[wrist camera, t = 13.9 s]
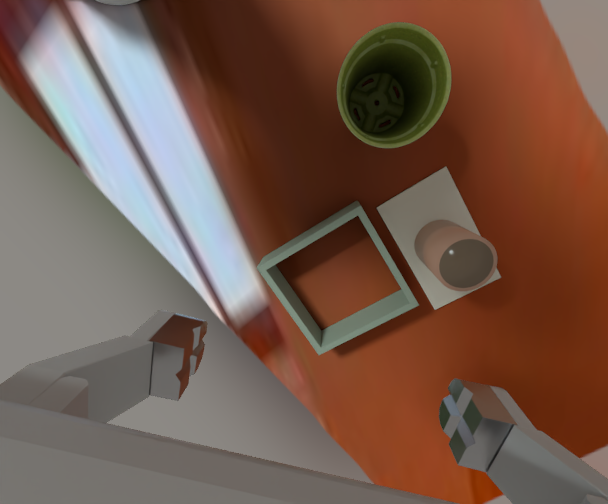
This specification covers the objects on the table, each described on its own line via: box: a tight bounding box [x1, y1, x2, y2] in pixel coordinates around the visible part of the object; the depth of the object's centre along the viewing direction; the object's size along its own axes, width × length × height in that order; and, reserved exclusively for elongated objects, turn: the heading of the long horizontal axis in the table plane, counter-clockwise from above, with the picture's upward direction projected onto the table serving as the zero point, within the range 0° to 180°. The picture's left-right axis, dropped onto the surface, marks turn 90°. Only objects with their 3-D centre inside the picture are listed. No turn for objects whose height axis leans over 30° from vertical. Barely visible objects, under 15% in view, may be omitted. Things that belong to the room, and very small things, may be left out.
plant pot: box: [337, 22, 451, 148], centre depth 30 cm, size 9×9×9 cm
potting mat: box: [376, 166, 501, 310], centre depth 38 cm, size 16×9×1 cm, turn 32°
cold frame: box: [257, 201, 419, 355], centre depth 38 cm, size 14×14×4 cm
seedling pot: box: [414, 220, 498, 291], centre depth 34 cm, size 6×6×8 cm
